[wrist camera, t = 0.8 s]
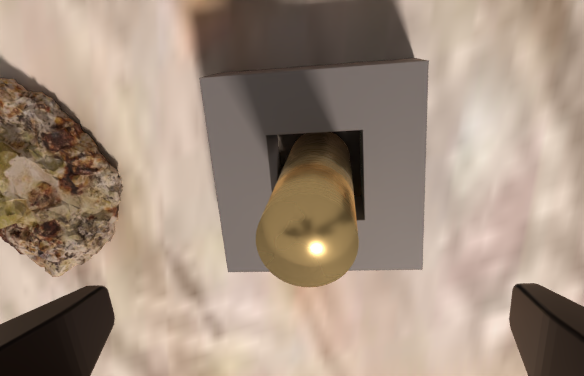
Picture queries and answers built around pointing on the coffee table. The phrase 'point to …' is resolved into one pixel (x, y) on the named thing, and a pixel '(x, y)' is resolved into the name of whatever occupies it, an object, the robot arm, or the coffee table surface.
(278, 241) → the brass pin
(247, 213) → the block
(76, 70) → the coffee table surface
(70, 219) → the mineral rock
